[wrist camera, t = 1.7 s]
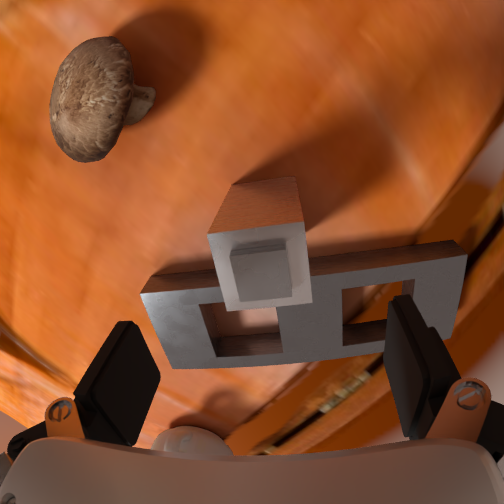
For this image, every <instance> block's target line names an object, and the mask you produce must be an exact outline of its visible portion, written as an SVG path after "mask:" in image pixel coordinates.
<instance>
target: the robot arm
mask: <svg viewBox="0 0 504 504" xmlns="http://www.w3.org/2000/svg"><path fill="white" fill-rule="evenodd" d="M383 360H384V366H385V369H386V373H387V376H388V379H389V383H390V386H391V390H392V393H393V397H394V400H395V404H396V408H397V411H398V415H399V419H400V423H401V426H402V431H403V434H404V437H409V439H410V440H409V441H402V442H396V443H389V444H383V445H377V446H371V447H363V448H356V449H348V450H339V451H331V452H320V453H309V454H294V455H270V456H227V455H204V454H189V453H178V452H168V451H159V450H150V449H143V448H136V447H132V446H133V445H135V444H136V442H137V439H138V437H139V434H140V431H141V429H142V426H143V424H144V421H145V418H146V416H147V413H148V410H149V408H150V405H151V403H152V400H153V398H154V395H155V392H156V390H157V387H158V385H159V382H160V378H161V376H160V372H159V369H158V367H157V365H156V363H155V361H154V359H153V357H152V355H151V353H150V351H149V349H148V346H147V344H146V342H145V340H144V338H143V335H142V333H141V331H140V329H139V327H138V325H136V324H135V323H134V322H133V321H119V322H117V324H116V325H115V327H114V328H113V330H112V331H111V333H110V334H109V336H108V337H107V339H106V341H105V342H104V344H103V345H102V347H101V348H100V350H99V352H98V353H97V355H96V356H95V358H94V359H93V361H92V363H91V364H90V366H89V368H88V369H87V371H86V372H85V374H84V376H83V377H82V379H81V381H80V382H79V384H78V386H77V387H76V389H75V391H74V392H73V394H74V395H75V399H74V400H72V399H71V398H68V397H62V398H58V399H56V400H55V401H53V402H52V403H51V404H50V405H49V406H48V407H47V409H46V412H45V421H43V422H41V423H39V424H37V425H35V426H33V427H31V428H29V429H27V430H25V431H23V432H21V433H19V434H17V435H16V436H14V437H13V438H12V440H11V441H10V442H9V444H8V448H7V452H8V453H5V452H3V453H2V454H0V504H504V405H502V404H500V403H497V402H495V401H492V400H491V392H490V389H489V387H488V386H487V385H486V384H485V383H484V382H483V381H481V380H479V379H477V378H461V377H460V374H459V372H458V370H457V368H456V366H455V364H454V362H453V360H452V358H451V356H450V354H449V352H448V350H447V348H446V346H445V345H444V343H443V341H442V339H441V337H440V335H439V333H438V331H437V330H436V328H435V327H433V326H432V327H428V326H427V325H426V323H425V321H424V319H423V317H422V315H421V313H420V312H419V310H418V308H417V306H416V304H415V302H414V301H413V299H412V297H411V295H410V294H405V295H399V296H394V298H393V301H389V303H388V314H387V326H386V337H385V347H384V356H383Z"/></svg>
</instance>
